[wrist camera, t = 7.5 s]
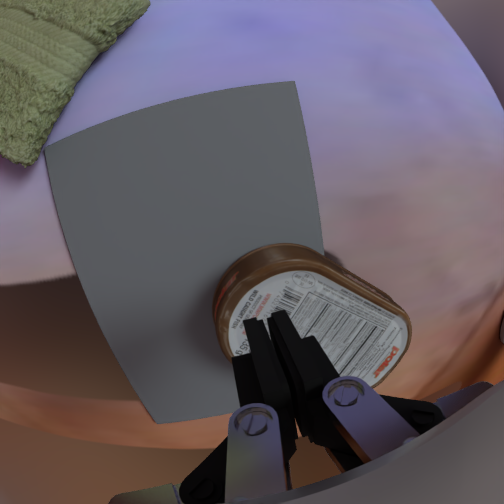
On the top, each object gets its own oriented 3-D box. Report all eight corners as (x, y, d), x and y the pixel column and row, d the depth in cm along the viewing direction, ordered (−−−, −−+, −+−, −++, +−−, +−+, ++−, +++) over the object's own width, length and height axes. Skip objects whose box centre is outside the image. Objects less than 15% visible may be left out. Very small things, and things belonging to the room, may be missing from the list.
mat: (293, 82, 14) (294, 81, 14) (331, 382, 21) (332, 384, 21) (46, 148, 12) (44, 148, 12) (157, 421, 19) (157, 424, 19)
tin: (255, 216, 15) (189, 330, 18) (265, 233, 13) (187, 362, 15) (413, 308, 20) (352, 382, 22) (435, 329, 17) (365, 407, 19)
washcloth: (27, -33, 6) (12, -48, 3) (167, 4, 11) (160, -25, 8) (-60, 93, 8) (-81, 91, 5) (37, 184, 13) (6, 189, 10)
